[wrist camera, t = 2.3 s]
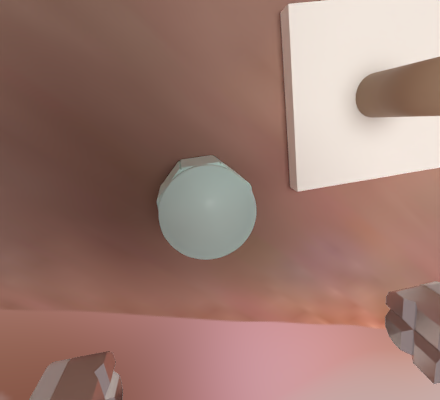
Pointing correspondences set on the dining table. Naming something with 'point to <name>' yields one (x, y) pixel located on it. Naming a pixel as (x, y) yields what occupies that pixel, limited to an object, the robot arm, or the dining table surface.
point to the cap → (205, 208)
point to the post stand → (361, 89)
